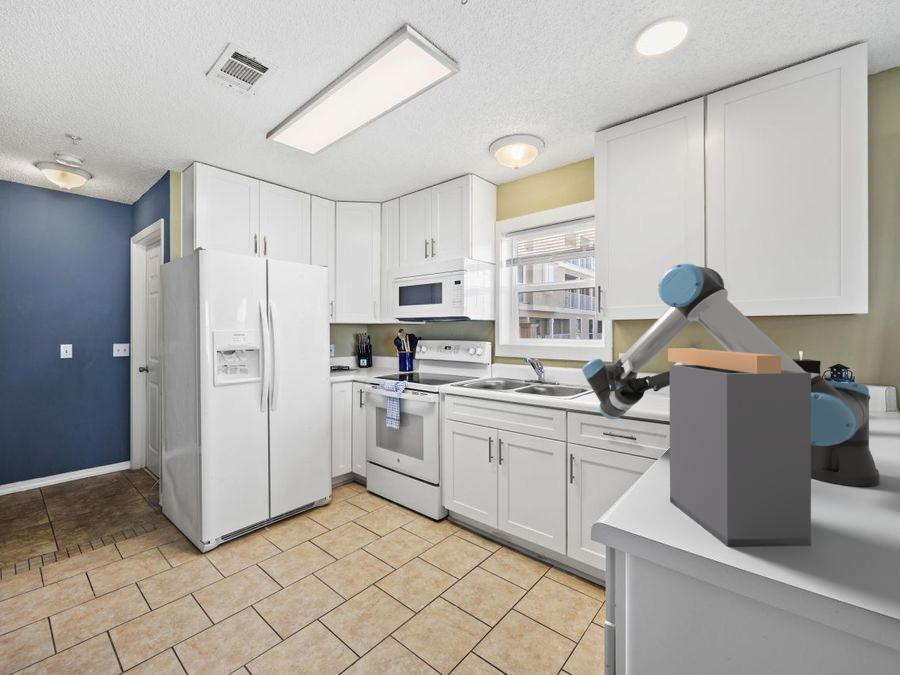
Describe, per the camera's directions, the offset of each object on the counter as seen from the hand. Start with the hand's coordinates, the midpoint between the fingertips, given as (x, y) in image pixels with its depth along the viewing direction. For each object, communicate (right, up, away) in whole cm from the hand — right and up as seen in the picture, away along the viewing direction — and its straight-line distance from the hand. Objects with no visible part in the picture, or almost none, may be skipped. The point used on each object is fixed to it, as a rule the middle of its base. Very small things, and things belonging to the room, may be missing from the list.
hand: (657, 363), depth 105 cm
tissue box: (+72, -26, +41) cm, 87 cm away
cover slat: (0, +1, -23) cm, 23 cm away
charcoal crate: (+1, -28, -27) cm, 39 cm away
